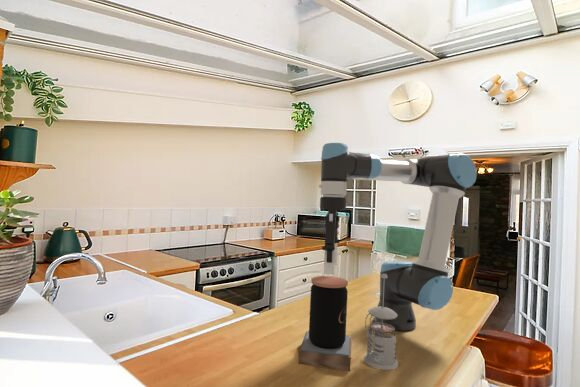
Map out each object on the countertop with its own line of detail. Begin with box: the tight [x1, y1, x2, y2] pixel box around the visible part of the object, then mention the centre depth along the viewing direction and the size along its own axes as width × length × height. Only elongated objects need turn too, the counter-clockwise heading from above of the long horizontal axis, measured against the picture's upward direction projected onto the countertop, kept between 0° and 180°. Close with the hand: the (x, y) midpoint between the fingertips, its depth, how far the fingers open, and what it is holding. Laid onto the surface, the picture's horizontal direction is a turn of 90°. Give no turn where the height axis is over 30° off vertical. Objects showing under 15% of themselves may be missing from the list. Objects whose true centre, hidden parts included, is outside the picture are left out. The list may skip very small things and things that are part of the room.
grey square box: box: [298, 330, 352, 372], centre depth 98 cm, size 14×14×4 cm
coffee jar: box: [308, 275, 349, 349], centre depth 99 cm, size 11×11×18 cm
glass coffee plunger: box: [362, 274, 399, 371], centre depth 98 cm, size 10×12×25 cm
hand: (330, 269), depth 99 cm, fingers open, 13 cm apart
